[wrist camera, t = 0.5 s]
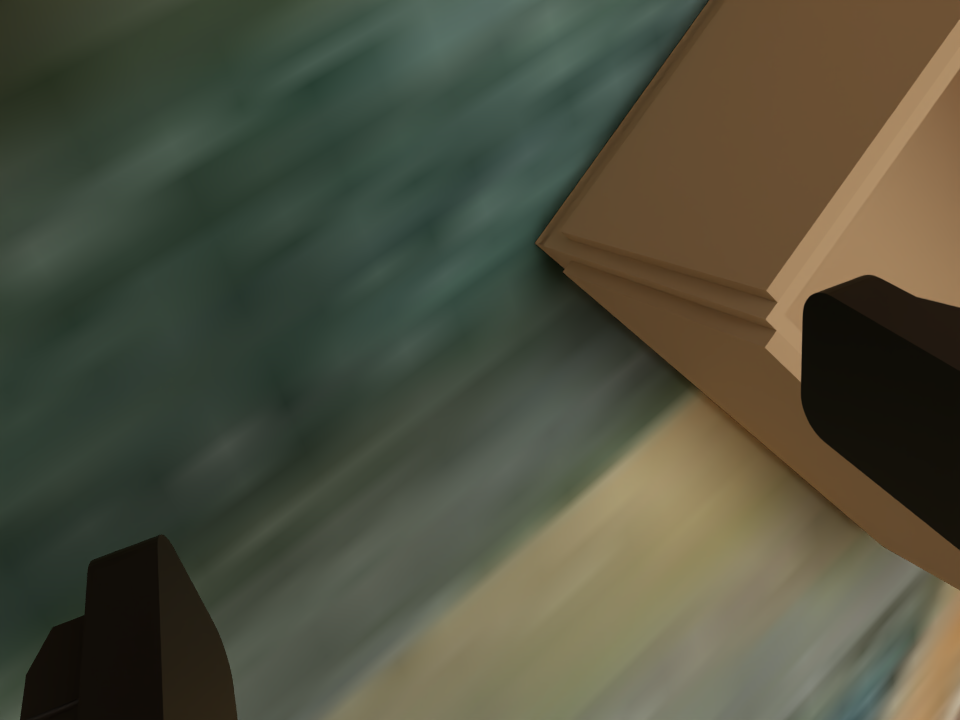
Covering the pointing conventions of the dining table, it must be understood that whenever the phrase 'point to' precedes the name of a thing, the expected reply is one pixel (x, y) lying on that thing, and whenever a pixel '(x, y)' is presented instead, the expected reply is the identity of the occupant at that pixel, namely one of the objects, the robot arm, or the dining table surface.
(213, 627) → the robot arm
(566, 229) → the carton
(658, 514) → the dining table surface
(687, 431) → the dining table surface
